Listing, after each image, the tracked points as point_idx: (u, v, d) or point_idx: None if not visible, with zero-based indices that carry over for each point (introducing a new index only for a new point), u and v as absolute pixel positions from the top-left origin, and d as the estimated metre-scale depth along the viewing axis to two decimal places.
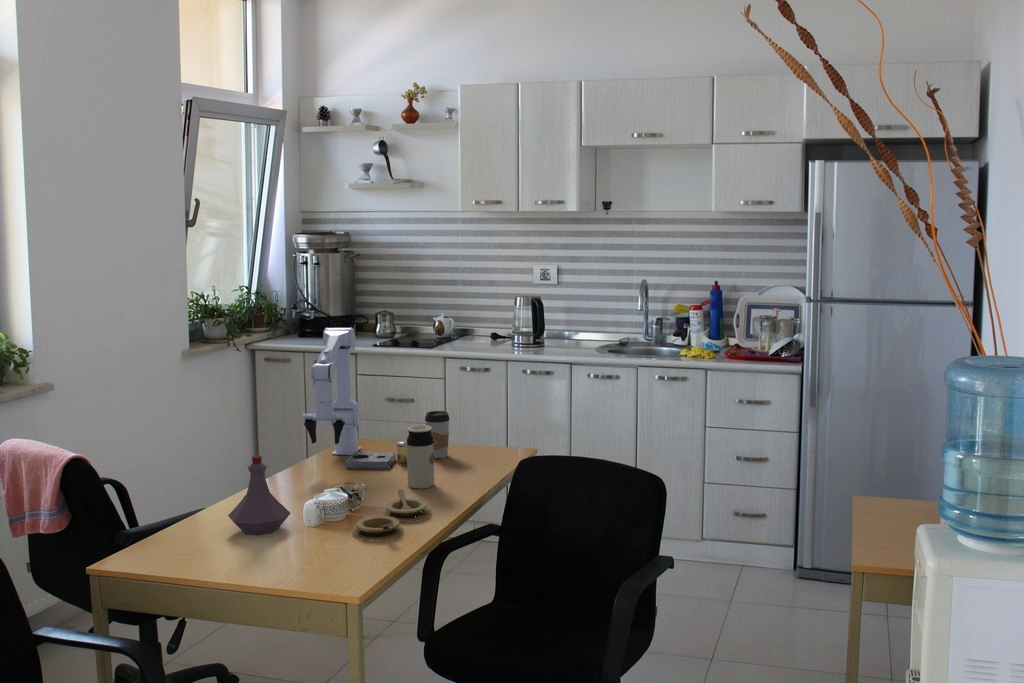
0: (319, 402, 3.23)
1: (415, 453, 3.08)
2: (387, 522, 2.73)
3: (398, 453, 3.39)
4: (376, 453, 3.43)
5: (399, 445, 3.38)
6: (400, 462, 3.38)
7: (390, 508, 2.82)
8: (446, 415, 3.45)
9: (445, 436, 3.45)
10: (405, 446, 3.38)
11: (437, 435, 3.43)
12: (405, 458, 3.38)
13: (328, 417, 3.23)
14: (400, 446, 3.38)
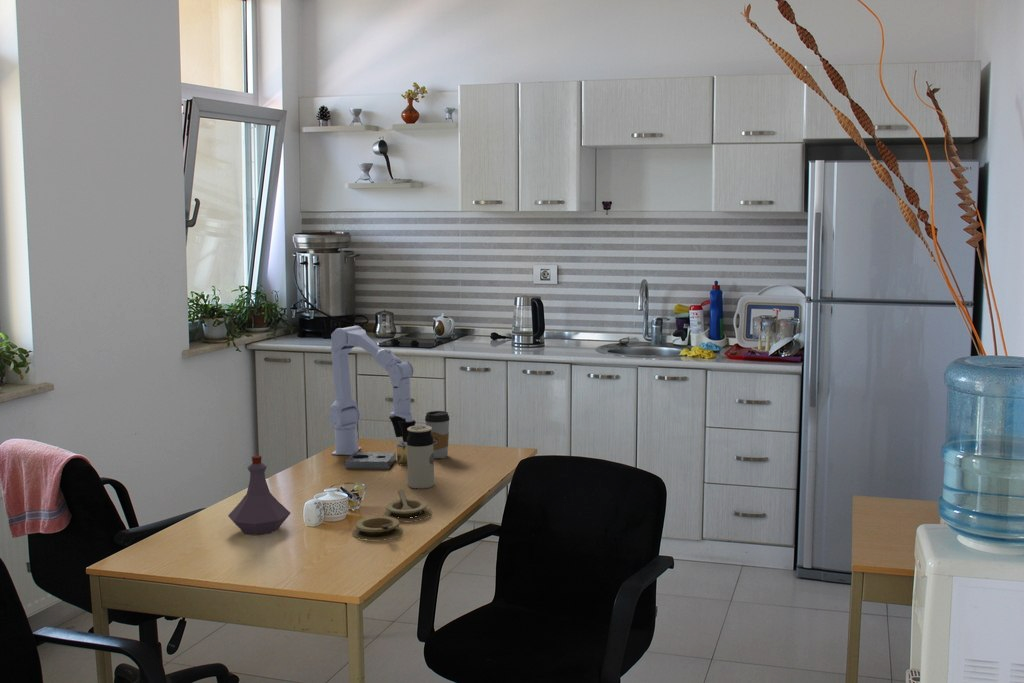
0: (393, 399, 3.37)
1: (415, 453, 3.08)
2: (387, 522, 2.73)
3: (398, 453, 3.39)
4: (376, 453, 3.43)
5: (399, 445, 3.38)
6: (400, 462, 3.38)
7: (390, 508, 2.82)
8: (446, 415, 3.45)
9: (445, 436, 3.45)
10: (405, 446, 3.38)
11: (437, 435, 3.43)
12: (405, 458, 3.38)
13: (397, 414, 3.35)
14: (400, 446, 3.38)
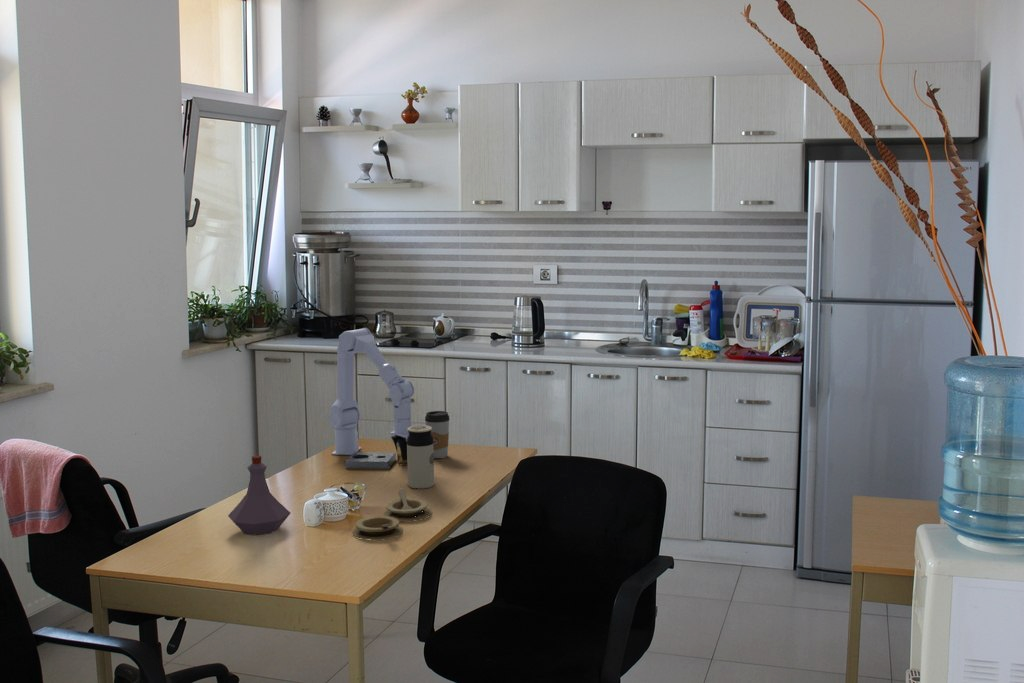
0: None
1: (415, 453, 3.08)
2: (387, 522, 2.73)
3: (398, 453, 3.39)
4: (376, 453, 3.43)
5: None
6: (400, 462, 3.38)
7: (390, 508, 2.83)
8: (446, 415, 3.45)
9: (445, 436, 3.45)
10: None
11: (437, 435, 3.43)
12: None
13: (397, 434, 3.36)
14: None
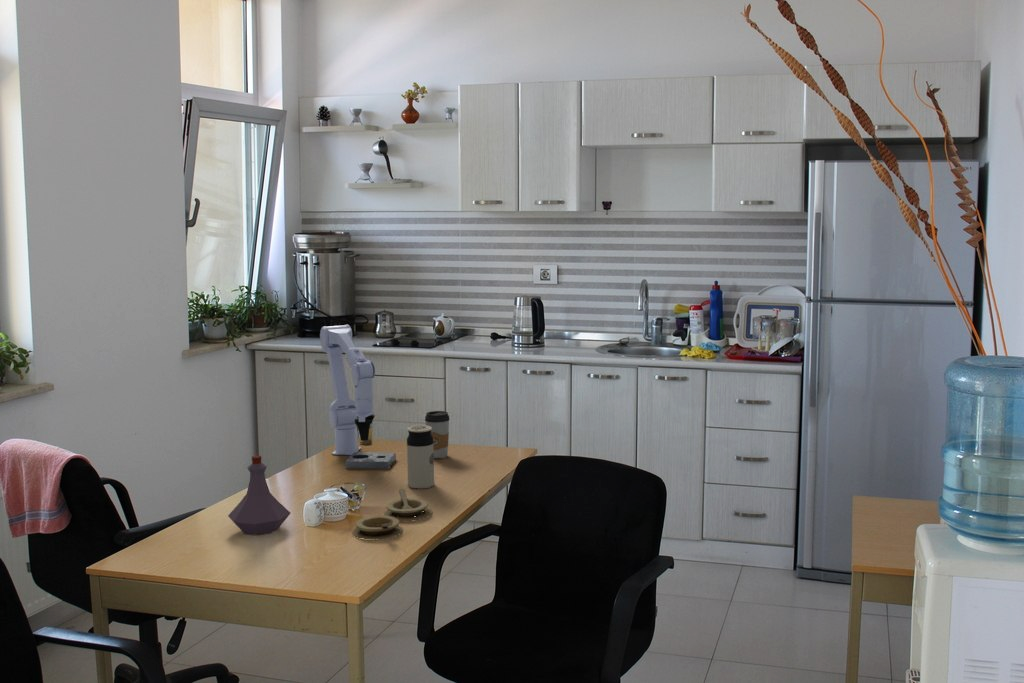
0: None
1: (415, 453, 3.08)
2: (387, 522, 2.73)
3: None
4: (376, 453, 3.43)
5: None
6: (361, 442, 3.38)
7: (391, 508, 2.83)
8: (446, 415, 3.45)
9: (445, 436, 3.45)
10: None
11: (437, 435, 3.43)
12: None
13: (356, 413, 3.35)
14: None
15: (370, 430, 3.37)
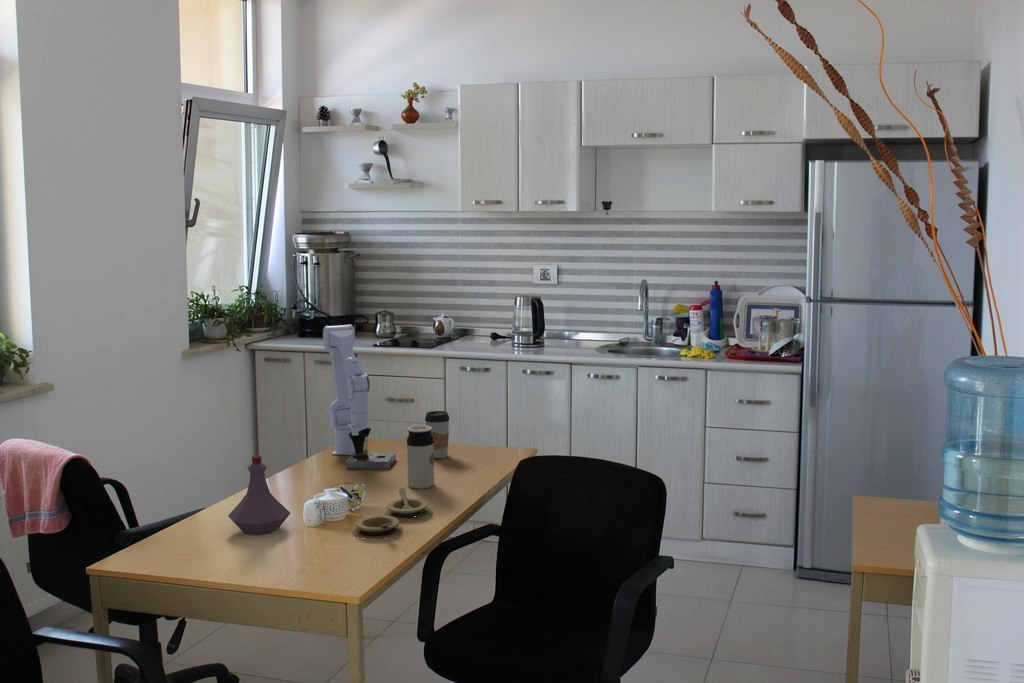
0: None
1: (415, 453, 3.08)
2: (387, 521, 2.74)
3: None
4: (376, 453, 3.43)
5: None
6: (356, 456, 3.38)
7: (391, 507, 2.83)
8: (446, 415, 3.45)
9: (445, 436, 3.45)
10: None
11: (437, 435, 3.43)
12: None
13: (351, 427, 3.36)
14: None
15: (365, 443, 3.37)
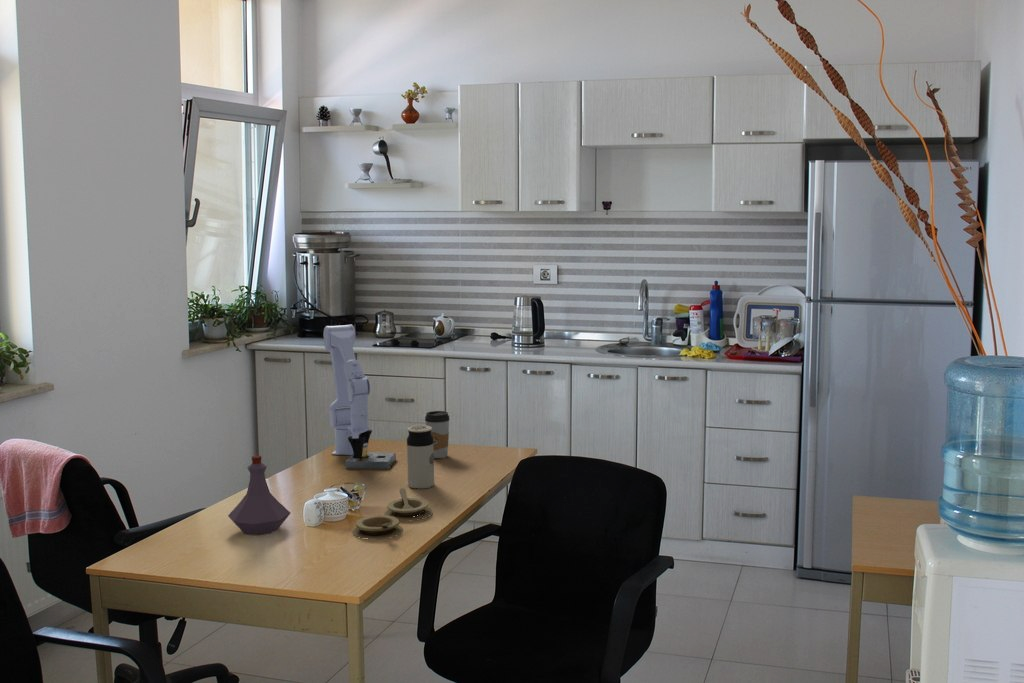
0: None
1: (415, 453, 3.08)
2: (387, 521, 2.74)
3: None
4: (376, 453, 3.43)
5: None
6: None
7: (391, 507, 2.83)
8: (446, 415, 3.45)
9: (445, 436, 3.45)
10: None
11: (437, 435, 3.43)
12: None
13: (351, 430, 3.36)
14: None
15: (364, 450, 3.38)
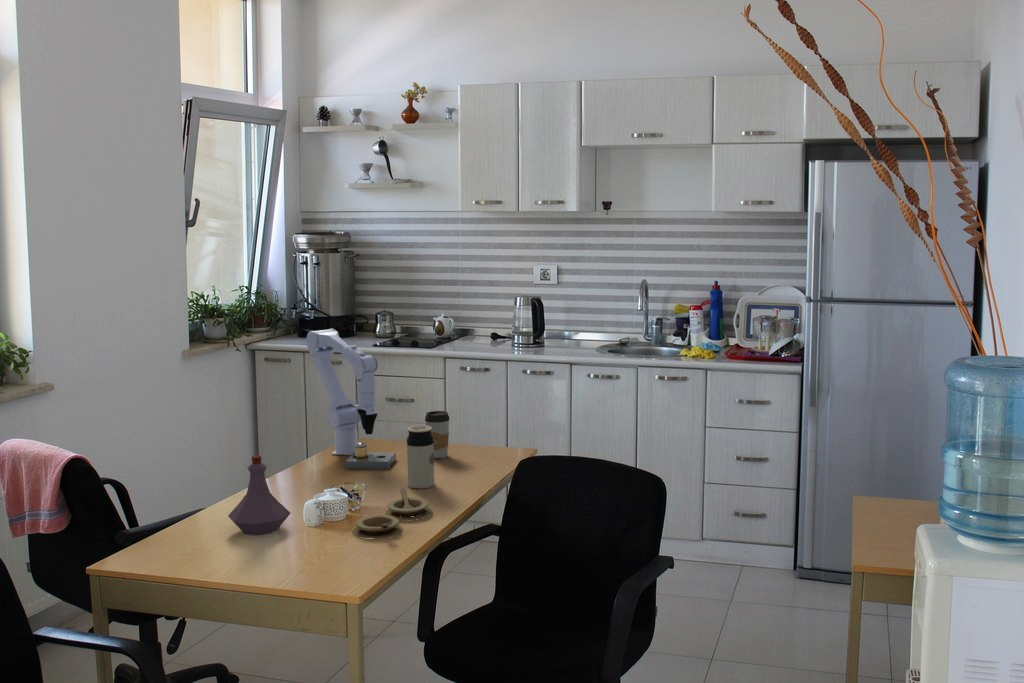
0: None
1: (415, 453, 3.08)
2: (387, 521, 2.74)
3: (355, 453, 3.39)
4: (376, 453, 3.43)
5: (355, 446, 3.38)
6: None
7: (391, 507, 2.83)
8: (446, 415, 3.45)
9: (445, 436, 3.45)
10: (361, 447, 3.37)
11: (437, 435, 3.43)
12: None
13: (360, 407, 3.41)
14: (355, 447, 3.38)
15: (364, 450, 3.38)
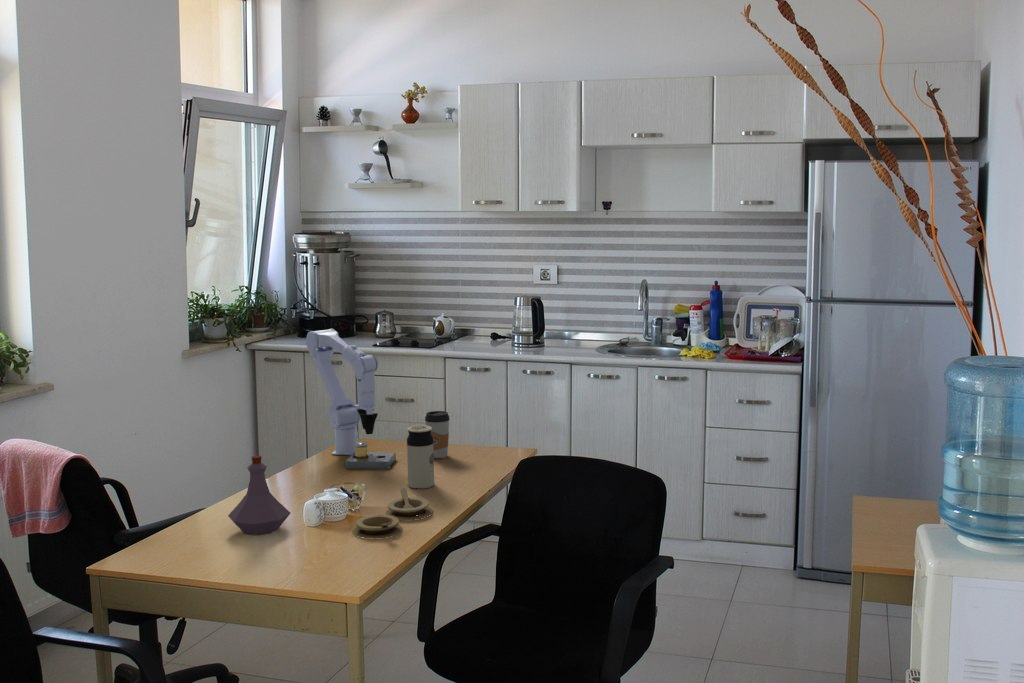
0: None
1: (415, 453, 3.08)
2: (387, 521, 2.74)
3: (355, 453, 3.39)
4: (376, 453, 3.43)
5: (355, 445, 3.38)
6: None
7: (392, 507, 2.84)
8: (446, 415, 3.45)
9: (445, 436, 3.45)
10: (361, 447, 3.37)
11: (437, 435, 3.43)
12: None
13: (360, 407, 3.41)
14: (356, 446, 3.38)
15: (365, 450, 3.38)
